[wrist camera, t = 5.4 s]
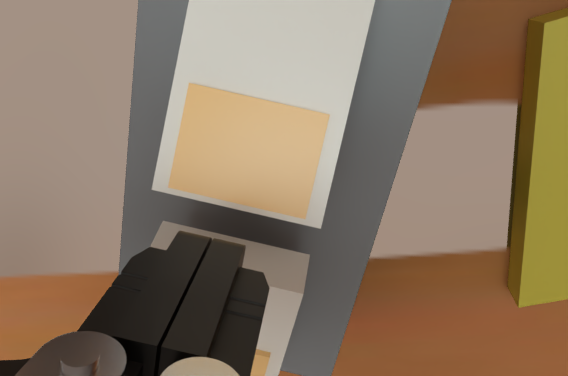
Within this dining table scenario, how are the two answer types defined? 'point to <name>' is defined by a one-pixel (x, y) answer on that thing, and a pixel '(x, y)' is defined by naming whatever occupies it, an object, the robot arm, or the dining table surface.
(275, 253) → the block
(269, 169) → the block
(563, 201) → the flat olive board
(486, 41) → the dining table surface
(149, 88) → the power strip
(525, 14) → the dining table surface
